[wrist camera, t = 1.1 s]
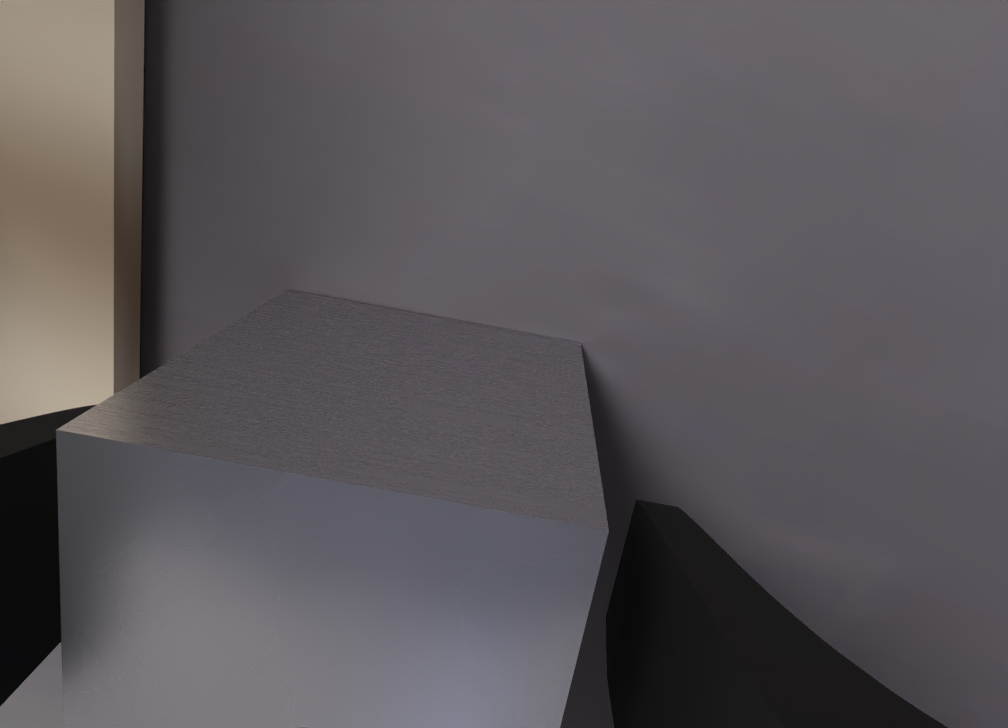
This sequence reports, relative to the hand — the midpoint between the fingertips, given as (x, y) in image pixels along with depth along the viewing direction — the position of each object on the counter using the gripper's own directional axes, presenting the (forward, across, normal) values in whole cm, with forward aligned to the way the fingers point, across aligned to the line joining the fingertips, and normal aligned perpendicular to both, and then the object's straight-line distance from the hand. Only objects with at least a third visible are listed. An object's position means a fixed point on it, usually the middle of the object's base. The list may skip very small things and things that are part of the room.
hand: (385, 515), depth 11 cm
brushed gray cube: (+2, 0, 0) cm, 2 cm away
